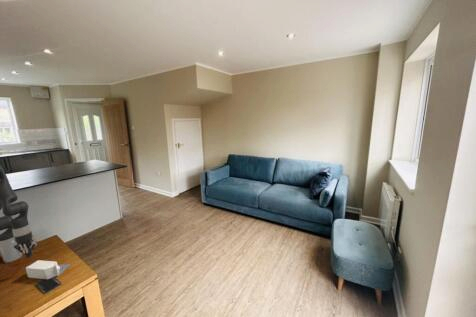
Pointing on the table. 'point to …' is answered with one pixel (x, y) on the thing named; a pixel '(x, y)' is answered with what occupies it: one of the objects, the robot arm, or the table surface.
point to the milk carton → (43, 269)
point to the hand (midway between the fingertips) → (29, 257)
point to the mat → (63, 268)
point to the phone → (48, 284)
